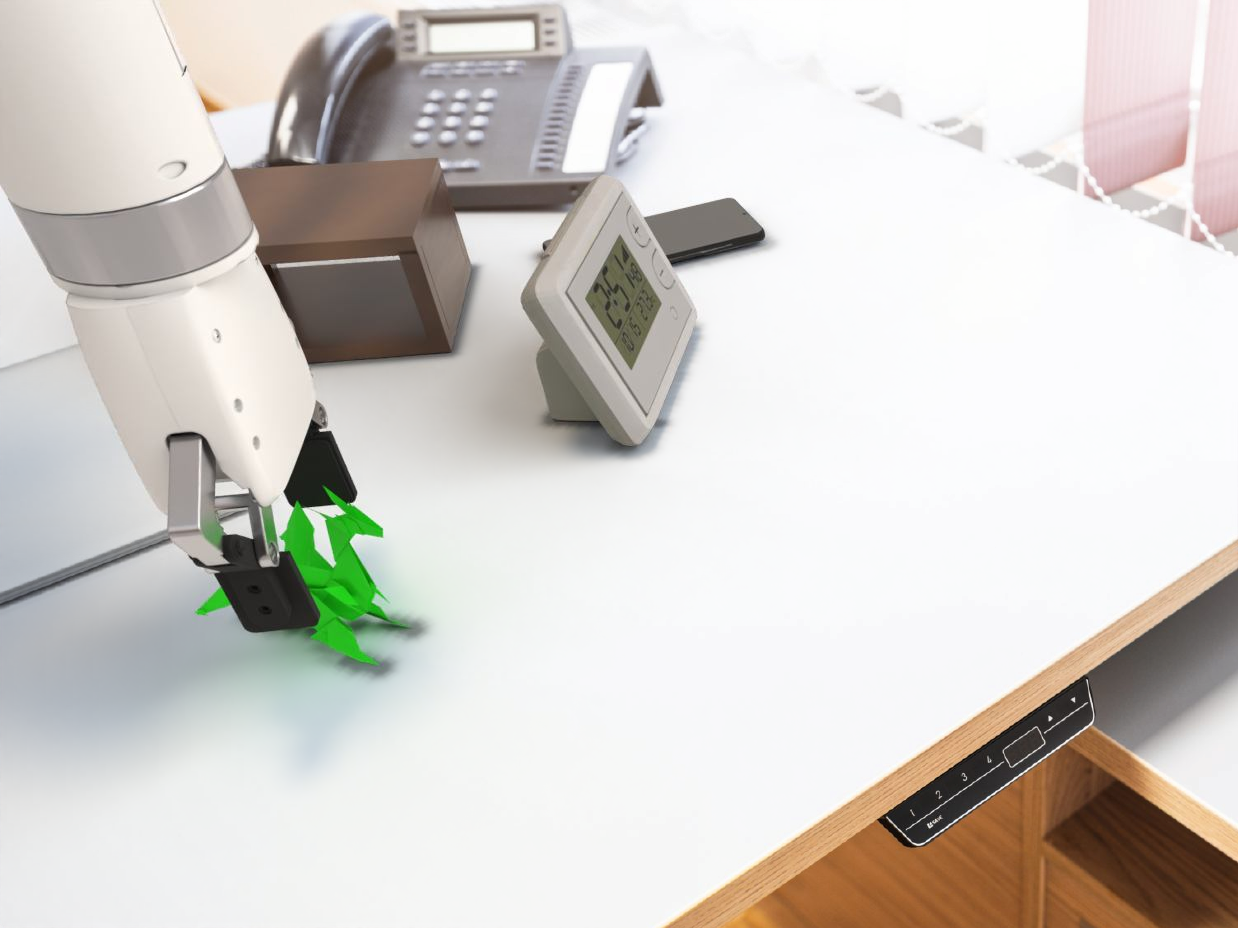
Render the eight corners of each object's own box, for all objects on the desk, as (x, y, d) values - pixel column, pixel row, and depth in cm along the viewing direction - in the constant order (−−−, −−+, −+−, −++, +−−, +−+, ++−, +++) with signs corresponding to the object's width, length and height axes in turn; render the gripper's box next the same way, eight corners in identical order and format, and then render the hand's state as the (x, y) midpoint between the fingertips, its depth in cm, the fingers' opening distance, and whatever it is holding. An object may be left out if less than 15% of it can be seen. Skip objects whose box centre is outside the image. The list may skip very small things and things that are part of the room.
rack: (224, 370, 85) (167, 252, 80) (265, 282, 94) (217, 169, 88) (451, 352, 87) (412, 236, 82) (472, 267, 96) (438, 157, 90)
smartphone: (539, 240, 97) (732, 195, 102) (542, 252, 98) (734, 206, 103) (567, 279, 93) (767, 230, 98) (570, 291, 93) (768, 242, 99)
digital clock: (641, 463, 79) (601, 298, 71) (502, 443, 80) (448, 278, 73) (742, 329, 90) (717, 175, 83) (619, 314, 91) (583, 160, 84)
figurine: (418, 691, 64) (317, 536, 58) (228, 677, 67) (114, 530, 61) (489, 610, 68) (402, 458, 62) (307, 601, 72) (208, 456, 66)
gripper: (105, 138, 58) (264, 467, 70) (-50, 337, 46) (175, 693, 58) (288, 128, 59) (413, 454, 71) (185, 320, 47) (357, 673, 59)
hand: (306, 561), depth 64 cm, fingers open, 9 cm apart
